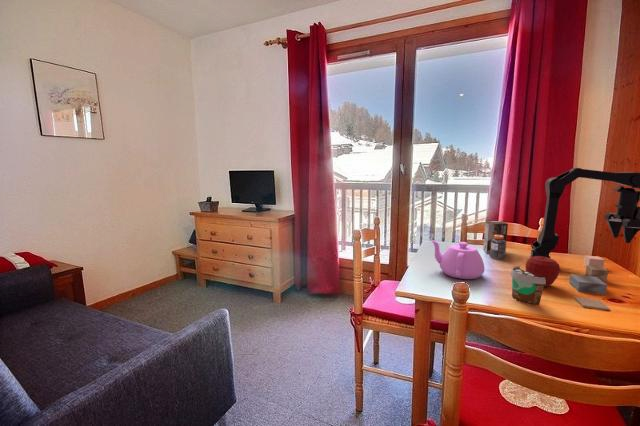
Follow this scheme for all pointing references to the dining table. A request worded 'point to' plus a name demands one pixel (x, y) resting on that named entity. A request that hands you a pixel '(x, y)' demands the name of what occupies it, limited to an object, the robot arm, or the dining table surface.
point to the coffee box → (494, 233)
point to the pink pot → (460, 261)
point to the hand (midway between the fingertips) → (621, 240)
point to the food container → (526, 286)
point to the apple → (543, 268)
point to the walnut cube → (597, 272)
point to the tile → (591, 303)
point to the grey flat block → (588, 284)
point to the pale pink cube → (593, 261)
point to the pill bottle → (497, 247)
